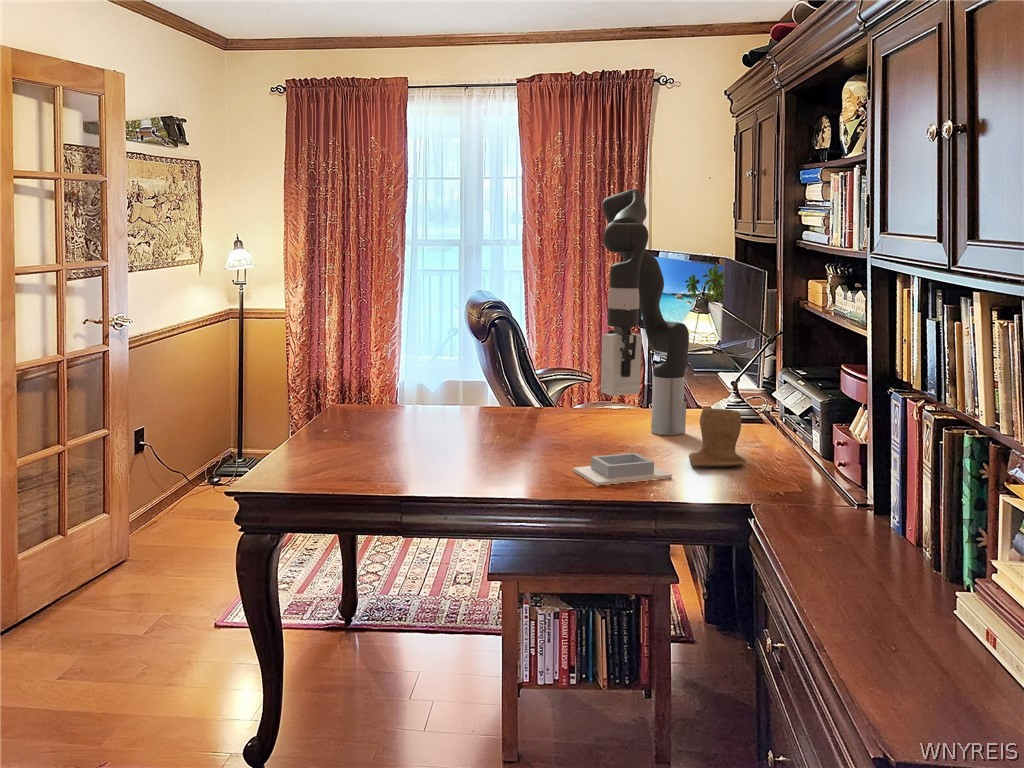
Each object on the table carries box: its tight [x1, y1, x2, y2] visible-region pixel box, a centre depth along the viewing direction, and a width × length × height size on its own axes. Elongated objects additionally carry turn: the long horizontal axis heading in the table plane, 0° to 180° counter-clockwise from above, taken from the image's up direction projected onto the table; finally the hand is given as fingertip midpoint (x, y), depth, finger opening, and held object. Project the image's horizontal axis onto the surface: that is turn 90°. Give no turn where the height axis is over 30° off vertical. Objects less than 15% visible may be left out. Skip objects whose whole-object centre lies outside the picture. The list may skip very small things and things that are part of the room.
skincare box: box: [600, 332, 643, 397], centre depth 219 cm, size 8×6×15 cm
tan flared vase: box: [688, 407, 747, 468], centre depth 229 cm, size 15×12×15 cm
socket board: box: [572, 452, 673, 487], centre depth 220 cm, size 20×14×4 cm
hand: (620, 374), depth 219 cm, fingers closed on skincare box, 6 cm apart
